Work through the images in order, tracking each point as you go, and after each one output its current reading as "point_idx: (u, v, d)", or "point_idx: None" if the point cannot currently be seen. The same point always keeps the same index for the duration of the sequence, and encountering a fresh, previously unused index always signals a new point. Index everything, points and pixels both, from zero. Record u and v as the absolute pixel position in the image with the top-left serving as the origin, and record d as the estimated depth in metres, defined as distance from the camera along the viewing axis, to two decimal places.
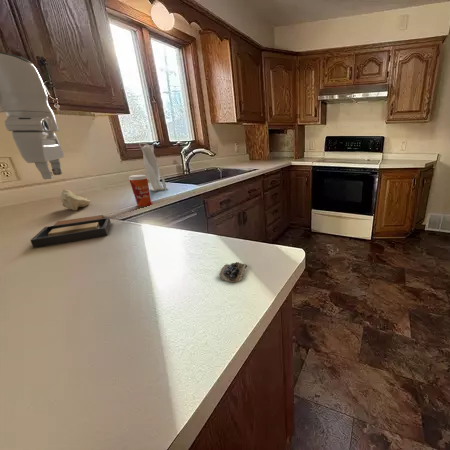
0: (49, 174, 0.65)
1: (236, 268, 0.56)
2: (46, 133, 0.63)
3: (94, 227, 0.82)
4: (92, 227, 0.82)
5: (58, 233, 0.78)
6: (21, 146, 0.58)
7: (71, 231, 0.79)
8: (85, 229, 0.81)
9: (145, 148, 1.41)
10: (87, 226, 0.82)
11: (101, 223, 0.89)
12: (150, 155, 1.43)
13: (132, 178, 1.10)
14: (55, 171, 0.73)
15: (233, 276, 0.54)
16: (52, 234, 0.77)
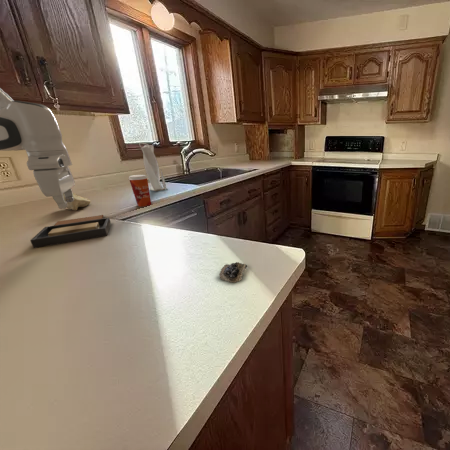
0: (64, 204, 0.74)
1: (236, 268, 0.56)
2: (61, 169, 0.72)
3: (94, 227, 0.82)
4: (92, 227, 0.82)
5: (58, 233, 0.78)
6: (41, 183, 0.67)
7: (71, 231, 0.79)
8: (85, 229, 0.81)
9: (145, 148, 1.41)
10: (87, 226, 0.82)
11: (101, 223, 0.89)
12: (150, 155, 1.43)
13: (132, 178, 1.10)
14: (68, 199, 0.81)
15: (233, 276, 0.54)
16: (52, 234, 0.77)
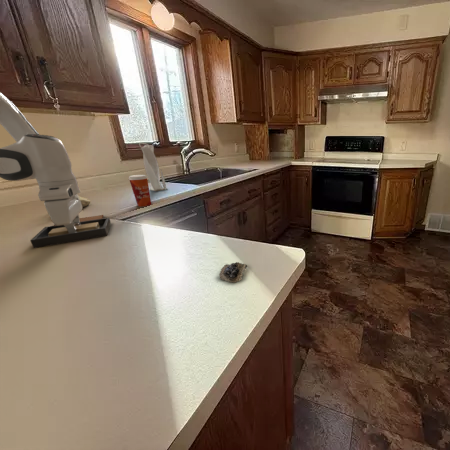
0: (74, 229, 0.78)
1: (236, 268, 0.56)
2: (71, 198, 0.75)
3: (94, 227, 0.82)
4: (92, 227, 0.82)
5: (58, 233, 0.78)
6: (52, 213, 0.70)
7: None
8: (85, 229, 0.81)
9: (145, 148, 1.41)
10: (87, 226, 0.82)
11: (101, 223, 0.89)
12: (150, 155, 1.43)
13: (132, 178, 1.10)
14: (75, 225, 0.83)
15: (233, 276, 0.54)
16: (52, 234, 0.77)
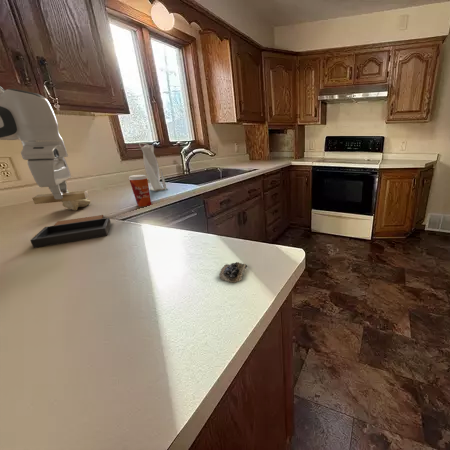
0: (60, 195, 0.74)
1: (236, 268, 0.56)
2: (57, 160, 0.71)
3: (82, 194, 0.78)
4: (80, 194, 0.78)
5: (43, 198, 0.73)
6: (35, 173, 0.66)
7: None
8: (72, 195, 0.77)
9: (145, 148, 1.41)
10: (75, 193, 0.78)
11: (101, 223, 0.89)
12: (150, 155, 1.43)
13: (132, 178, 1.10)
14: (62, 192, 0.79)
15: (233, 276, 0.54)
16: (37, 199, 0.73)
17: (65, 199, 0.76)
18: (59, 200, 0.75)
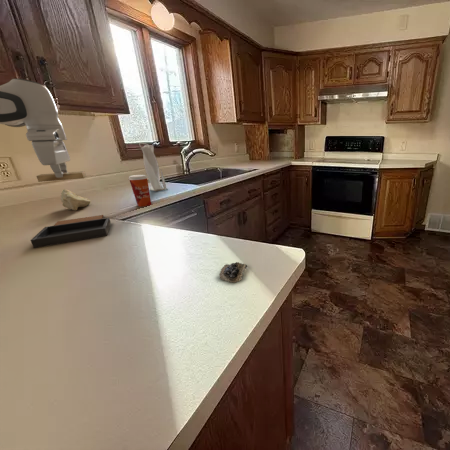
0: (60, 173, 0.84)
1: (236, 268, 0.56)
2: (57, 142, 0.81)
3: (80, 173, 0.88)
4: (78, 173, 0.87)
5: (46, 176, 0.83)
6: (38, 152, 0.76)
7: None
8: (72, 175, 0.86)
9: (145, 148, 1.41)
10: (74, 172, 0.88)
11: (101, 223, 0.89)
12: (150, 155, 1.43)
13: (132, 178, 1.10)
14: (62, 172, 0.89)
15: (233, 276, 0.54)
16: (40, 177, 0.83)
17: (65, 178, 0.86)
18: (60, 178, 0.85)
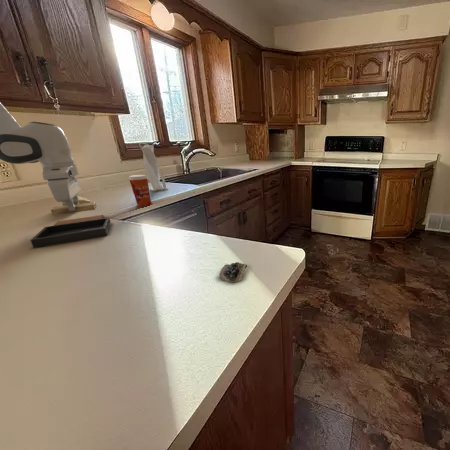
0: (73, 207, 0.89)
1: (236, 268, 0.56)
2: (70, 178, 0.85)
3: (91, 205, 0.93)
4: (89, 205, 0.92)
5: (59, 210, 0.88)
6: (54, 190, 0.81)
7: None
8: (83, 207, 0.91)
9: (145, 148, 1.41)
10: (85, 204, 0.92)
11: (101, 223, 0.89)
12: (150, 155, 1.43)
13: (132, 178, 1.10)
14: None
15: (233, 276, 0.54)
16: (54, 210, 0.87)
17: (77, 210, 0.91)
18: (72, 211, 0.90)
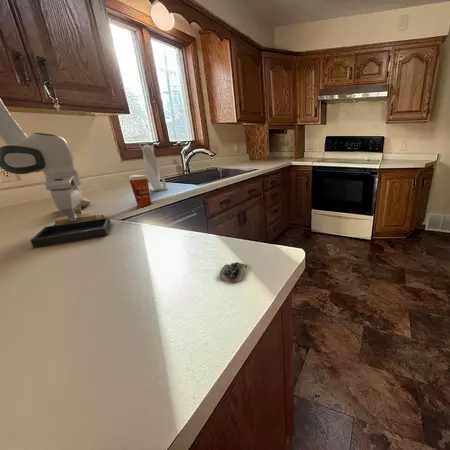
0: (74, 217, 0.89)
1: (236, 268, 0.56)
2: (73, 188, 0.86)
3: (94, 216, 0.94)
4: (93, 216, 0.94)
5: (63, 221, 0.90)
6: (56, 201, 0.82)
7: None
8: (86, 217, 0.93)
9: (145, 148, 1.41)
10: (88, 215, 0.94)
11: (101, 223, 0.89)
12: (150, 155, 1.43)
13: (132, 178, 1.10)
14: (77, 212, 0.96)
15: (233, 276, 0.54)
16: (58, 221, 0.89)
17: (81, 221, 0.92)
18: None
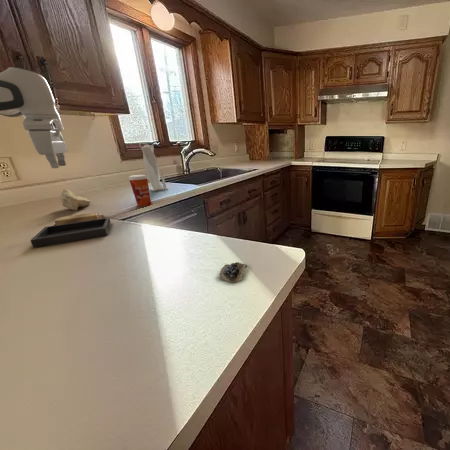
0: (56, 164, 0.82)
1: (236, 268, 0.56)
2: (54, 131, 0.80)
3: (94, 216, 0.94)
4: (93, 216, 0.94)
5: (63, 221, 0.90)
6: (35, 141, 0.75)
7: (74, 219, 0.91)
8: (86, 217, 0.93)
9: (145, 148, 1.41)
10: (88, 215, 0.94)
11: (101, 223, 0.89)
12: (150, 155, 1.43)
13: (132, 178, 1.10)
14: (60, 162, 0.89)
15: (233, 276, 0.54)
16: (58, 221, 0.89)
17: (81, 221, 0.92)
18: None
